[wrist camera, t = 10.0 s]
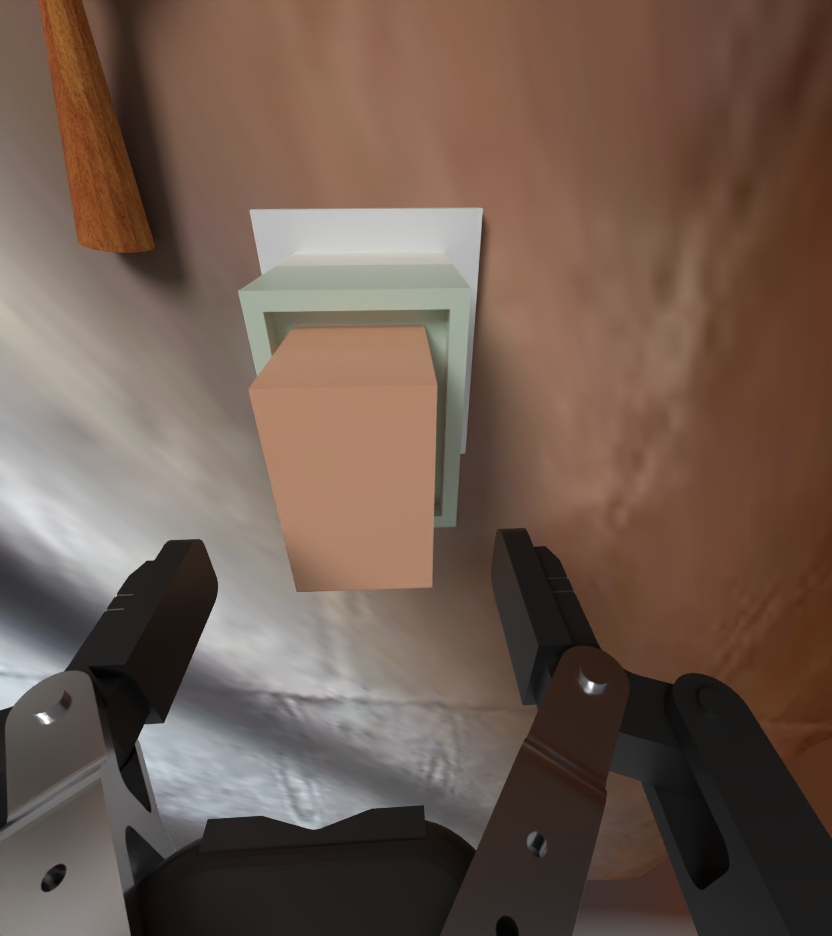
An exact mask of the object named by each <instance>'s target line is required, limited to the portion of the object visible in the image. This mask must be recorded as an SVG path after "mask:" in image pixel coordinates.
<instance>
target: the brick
mask: <svg viewBox="0 0 832 936" xmlns="http://www.w3.org/2000/svg"><path fill="white" fill-rule="evenodd" d="M248 390H249V394H250V398H251V402H252V407H253V411H254V415H255V419H256V423H257V428H258V432H259V436H260V440H261V444H262V448H263V453H264V457H265V461H266V465H267V469H268V474H269V478H270V482H271V486H272V490H273V495H274V499H275V503H276V507H277V511H278V515H279V520H280V524H281V528H282V532H283V536H284V541H285V545H286V549H287V553H288V557H289V562H290V566H291V570H292V574H293V578H294V582H295V587H296V591H297V592H313V591H341V590H369V589H397V588H425V587H432V569H433V532H434V494H435V456H436V418H437V381H436V377H435V372H434V368H433V363H432V358H431V354H430V349H429V344H428V340H427V335H426V331H425V326H424V325H368V326H301V327H293V328H292V329H291V331H290V332H289V334H288V335H287V336H286V338H285V339H284V341H283V342H282V343H281V345H280V346H279V347H278V349H277V350H276V352H275V353H274V354H273V356H272V357H271V358H270V360H269V361H268V363H267V364H266V365H265V367H264V368H263V370H262V371H261V372H260V374H259V375H258V376H257V378H256V379H255V381H254V382H253V383H252V385H251V386H250V387H249V389H248Z"/></svg>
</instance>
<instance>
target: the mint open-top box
mask: <svg viewBox="0 0 832 936" xmlns="http://www.w3.org/2000/svg"><path fill="white" fill-rule="evenodd" d="M482 213H483V208H480V207H479V208H330V209H252V210H250V215H251V220H252V226H253V231H254V236H255V241H256V247H257V252H258V257H259V262H260V268H261V273H262V276H260V277H259V278H257V279H256V280H254V281H253V282H251V283H250V284H248V285H247V286H245V287H243V288H242V289H240V290H239V291H238V293H239V297H240V302H241V306H242V310H243V315H244V319H245V324H246V328H247V333H248V337H249V342H250V346H251V351H252V355H253V360H254V364H255V369H256V373H257V376H258V375H259V374H260V372H261V371H262V370H263V368H264V367H265V365H266V364H267V363H268V361H269V360H270V358H271V357H272V356H273V354H274V353H275V352H276V350H277V349H278V347H279V346H280V345H281V343H282V342H283V341H284V339H285V338H286V336H287V335H288V334H289V332H290V331H291V329H292V328H293V327H301V326H368V325H424V326H425V331H426V335H427V340H428V344H429V349H430V354H431V358H432V363H433V368H434V372H435V377H436V381H437V418H436V456H435V494H434V527H456V516H457V500H458V485H459V469H460V454H465V452H466V438H467V424H468V410H469V396H470V382H471V368H472V353H473V339H474V325H475V311H476V297H477V283H478V269H479V255H480V241H481V227H482Z"/></svg>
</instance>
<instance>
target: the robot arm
mask: <svg viewBox="0 0 832 936" xmlns="http://www.w3.org/2000/svg"><path fill="white" fill-rule="evenodd" d="M491 578H492V587H493V591H494V595H495V599H496V603H497V607H498V611H499V615H500V618H501V622H502V626H503V630H504V634H505V638H506V642H507V646H508V649H509V653H510V657H511V661H512V665H513V669H514V673H515V676H516V680H517V684H518V688H519V692H520V696H521V700H522V704H523V705H537V709H538V713H537V715H536V717H535V720H534V722H533V724H532V727H531V729H530V731H529V734H528V736H527V738H525V740H524V742H523V744H522V746H521V748H520V750H519V752H518V755H517V757H516V759H515V762H514V764H513V766H512V769H511V771H510V773H509V776H508V778H507V780H506V783H505V785H504V787H503V790H502V792H501V794H500V797H499V799H498V801H497V804H496V806H495V808H494V810H493V813H492V815H491V817H490V820H489V822H488V824H487V827H486V829H485V831H484V834H483V836H482V838H481V841H480V843H479V845H478V848H477V850H475V849H474V848H473V847H472V846H471V845H470V844H469V843H468V842H466V841H465V840H464V839H463V838H462V837H461V836H459V835H457V834H456V833H454V832H453V831H451V830H450V829H448V828H446V827H444V826H441V825H439V824H437V823H434V822H430V821H427V820H425V816H424V805H423V806H407V807H392V808H376V809H370V810H367V811H365V812H362V813H360V814H357V815H354V816H352V817H349V818H347V819H344V820H341V821H339V822H336V823H334V824H331V825H329V826H326V827H323V828H321V829H317V830H311V829H307V828H303V827H300V826H296V825H292V824H289V823H285V822H282V821H278V820H275V819H271V818H268V817H264V816H252V817H236V818H221V819H208V820H207V824H206V827H205V831H204V834H203V838H200V839H197V840H195V841H194V842H192V843H190V844H188V845H186V846H184V847H182V848H181V849H179V850H178V851H176V852H175V849H174V846H173V844H172V841H171V839H170V837H169V835H168V833H167V831H166V829H165V827H164V825H163V823H162V820H161V818H160V815H159V811H158V808H157V804H156V800H155V797H154V793H153V790H152V786H151V782H150V779H149V775H148V771H147V768H146V764H145V760H144V757H143V753H142V749H141V746H140V743H139V741H138V740H137V739H138V737H139V734H140V732H141V730H142V728H143V726H144V724H158V723H164V722H165V719H166V717H167V715H168V712H169V710H170V707H171V705H172V703H173V700H174V698H175V696H176V693H177V691H178V689H179V686H180V684H181V681H182V679H183V677H184V674H185V672H186V670H187V667H188V665H189V663H190V660H191V658H192V655H193V653H194V651H195V648H196V646H197V644H198V641H199V639H200V637H201V634H202V632H203V629H204V627H205V625H206V622H207V620H208V618H209V615H210V613H211V611H212V608H213V606H214V603H215V601H216V598H217V592H218V581H217V577H216V574H215V571H214V569H213V566H212V564H211V561H210V558H209V556H208V553H207V550H206V548H205V545H204V543H203V541H202V540H200V539H189V540H170V541H168V542H167V543H166V544H165V545H164V546H163V548H162V549H161V551H160V553H159V554H158V556H157V557H156V559H155V560H154V561H146V562H145V563H144V564H143V565H142V566H140V567H139V568H138V569H137V570H136V571H134V572H133V573H132V574H131V575H130V576H129V577H128V578H127V580H126V581H125V583H124V584H123V586H122V587H121V589H120V590H119V592H118V593H117V597H114V599H113V600H112V602H111V603H110V605H109V606H108V608H107V609H108V610H107V612H104V614H103V615H102V617H101V618H100V620H99V621H98V623H97V624H96V626H95V627H94V629H93V630H92V632H91V633H90V635H89V636H88V637H87V639H86V640H85V642H84V643H83V645H82V646H81V648H80V649H79V651H78V652H77V654H76V655H75V657H74V658H73V660H72V661H71V663H70V664H69V666H68V667H67V668H66V670H65V671H64V672H61V673H58V674H55V675H53V676H50V677H48V678H46V679H45V680H43V681H41V682H39V683H38V684H36V685H35V686H33V687H32V688H31V689H30V690H28V691H27V692H26V693H25V694H24V695H23V696H22V697H21V698H20V699H19V700H18V701H17V702H16V704H15V705H14V706H12V707H10V708H6V709H3V710H0V936H572V935H573V931H574V927H575V923H576V919H577V915H578V911H579V907H580V903H581V899H582V895H583V891H584V887H585V883H586V879H587V876H588V872H589V868H590V864H591V860H592V856H593V852H594V848H595V844H596V840H597V836H598V832H599V828H600V824H601V820H602V816H603V812H604V807H605V803H606V796H607V791H606V790H605V786H606V781H607V777H608V773H609V771H611V772H614V773H618V774H621V775H624V776H627V777H630V778H634V779H637V780H640V781H641V783H642V785H643V788H644V791H645V793H646V796H647V799H648V801H649V804H650V807H651V810H652V812H653V815H654V818H655V820H656V823H657V826H658V828H659V831H660V834H661V836H662V839H663V842H664V844H665V847H666V850H667V852H668V855H669V858H670V860H671V863H672V866H673V868H674V871H675V874H676V877H677V879H678V882H679V885H680V887H681V890H682V893H683V895H684V898H685V900H686V903H687V906H688V909H689V911H690V914H691V917H692V919H693V922H694V925H695V927H696V930H697V933H698V936H832V839H831V837H830V836H829V834H828V832H827V831H826V829H825V828H824V826H823V825H822V823H821V821H820V820H819V818H818V817H817V815H816V813H815V812H814V810H813V809H812V807H811V805H810V804H809V802H808V801H807V799H806V798H805V796H804V794H803V793H802V791H801V790H800V788H799V787H798V785H797V783H796V782H795V780H794V779H793V777H792V776H791V774H790V772H789V771H788V769H787V768H786V766H785V764H784V763H783V761H782V760H781V758H780V757H779V755H778V753H777V752H776V750H775V749H774V747H773V745H772V744H771V742H770V741H769V739H768V738H767V736H766V734H765V733H764V731H763V730H762V728H761V726H760V725H759V723H758V722H757V720H756V719H755V717H754V715H753V714H752V712H751V711H750V709H749V708H748V706H747V705H746V703H745V702H744V701H743V700H742V698H741V697H740V696H739V695H738V694H737V693H736V692H735V691H733V690H732V689H731V688H730V687H728V686H727V685H725V684H724V683H722V682H721V681H719V680H717V679H715V678H713V677H710V676H707V675H703V674H697V673H690V674H685V675H682V676H681V677H679V678H678V679H677V680H676V682H675V683H674V684H670V683H666V682H662V681H658V680H655V679H651V678H647V677H643V676H639V675H636V674H633V673H631V672H629V671H626V670H625V669H623V668H622V667H621V665H620V664H619V663H618V662H617V661H616V660H615V659H614V658H613V657H612V656H610V655H609V654H607V653H606V652H604V651H602V649H601V648H600V646H599V644H598V643H597V640H596V638H595V636H594V634H593V632H592V630H591V627H590V625H589V623H588V621H587V619H586V616H585V614H584V612H583V610H582V608H581V606H580V603H579V601H578V599H577V597H576V595H575V593H573V588H572V586H571V584H570V582H569V579H567V575H566V573H565V571H564V569H563V566H562V564H561V562H560V560H559V559H558V558H557V557H556V556H555V555H554V554H553V553H552V552H551V551H550V550H549V549H548V548H547V547H546V546H543V547H533V544H532V542H531V539H530V537H529V534H528V532H527V530H526V529H525V528H515V529H498V530H497V532H496V538H495V546H494V553H493V560H492V568H491Z"/></svg>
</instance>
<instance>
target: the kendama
mask: <svg viewBox="0 0 832 936" xmlns="http://www.w3.org/2000/svg"><path fill="white" fill-rule="evenodd" d="M39 5H40V11H41V18H42V24H43V30H44V36H45V42H46V48H47V54H48V60H49V66H50V73H51V79H52V85H53V91H54V97H55V103H56V109H57V115H58V121H59V128H60V134H61V140H62V146H63V152H64V158H65V164H66V170H67V176H68V183H69V189H70V195H71V201H72V207H73V213H74V219H75V225H76V231H77V238H78V243H80V244H81V245H82V246H85V247H88V248H91V249H95V250H101V251H107V252H120V253H135V252H144V251H150V250H152V249H154V248H155V244H154V240H153V237H152V234H151V230H150V227H149V224H148V220H147V217H146V214H145V210H144V207H143V204H142V200H141V197H140V194H139V190H138V187H137V183H136V180H135V177H134V173H133V170H132V167H131V163H130V160H129V157H128V153H127V150H126V147H125V143H124V140H123V137H122V133H121V130H120V127H119V123H118V120H117V117H116V113H115V110H114V107H113V103H112V100H111V97H110V93H109V90H108V87H107V83H106V80H105V77H104V73H103V70H102V67H101V63H100V60H99V57H98V53H97V50H96V47H95V43H94V40H93V37H92V33H91V30H90V26H89V23H88V20H87V16H86V13H85V10H84V6H83V3H82V0H39Z"/></svg>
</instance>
